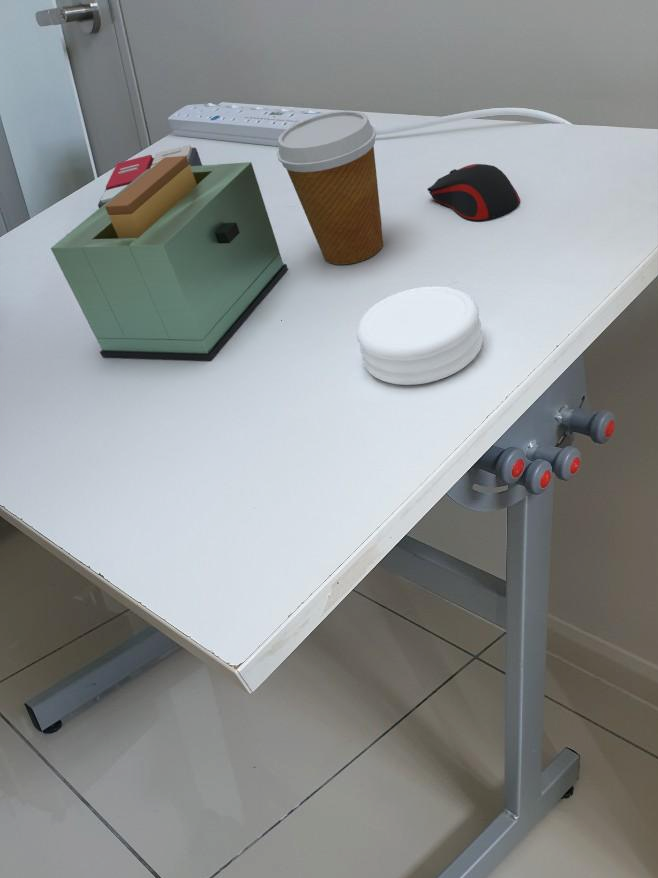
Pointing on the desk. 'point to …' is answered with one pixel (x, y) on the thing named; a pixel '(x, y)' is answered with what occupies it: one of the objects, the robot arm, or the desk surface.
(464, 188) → the computer mouse
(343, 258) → the disposable coffee cup
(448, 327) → the white round container
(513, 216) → the desk surface
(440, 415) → the desk surface
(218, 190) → the toaster
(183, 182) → the toast
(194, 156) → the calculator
